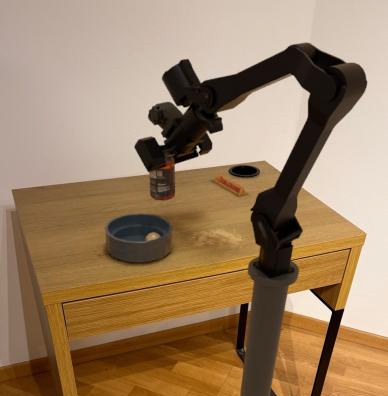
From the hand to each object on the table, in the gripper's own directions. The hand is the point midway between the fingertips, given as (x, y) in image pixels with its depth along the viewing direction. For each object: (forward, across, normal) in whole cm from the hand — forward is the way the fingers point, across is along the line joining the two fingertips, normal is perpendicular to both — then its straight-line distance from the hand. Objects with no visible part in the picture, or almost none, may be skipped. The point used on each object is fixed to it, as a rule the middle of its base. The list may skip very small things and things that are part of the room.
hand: (157, 167), depth 113 cm
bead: (-1, +12, +16) cm, 20 cm away
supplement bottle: (+4, 0, +6) cm, 7 cm away
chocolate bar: (+10, -28, +8) cm, 31 cm away
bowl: (+2, +14, +15) cm, 21 cm away
